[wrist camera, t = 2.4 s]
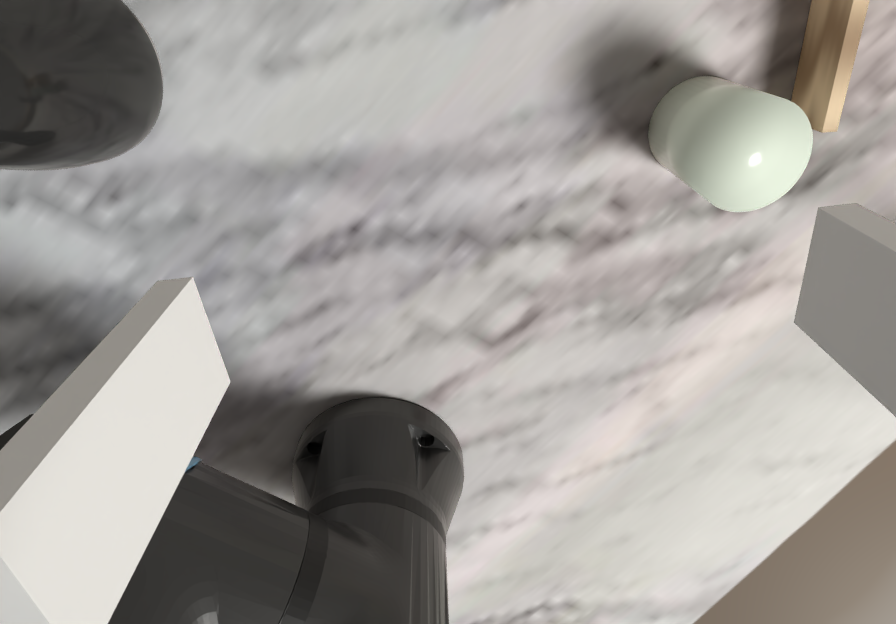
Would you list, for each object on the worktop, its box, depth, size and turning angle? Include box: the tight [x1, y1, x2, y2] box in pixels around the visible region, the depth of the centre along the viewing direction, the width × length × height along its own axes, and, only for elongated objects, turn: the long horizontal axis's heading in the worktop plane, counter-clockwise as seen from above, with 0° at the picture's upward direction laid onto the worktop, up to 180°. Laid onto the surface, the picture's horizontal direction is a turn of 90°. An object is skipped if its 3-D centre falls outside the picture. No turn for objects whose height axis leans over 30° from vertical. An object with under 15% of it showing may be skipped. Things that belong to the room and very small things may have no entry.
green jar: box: [648, 76, 813, 212], centre depth 36 cm, size 6×6×8 cm
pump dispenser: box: [0, 0, 163, 170], centre depth 30 cm, size 10×10×15 cm
